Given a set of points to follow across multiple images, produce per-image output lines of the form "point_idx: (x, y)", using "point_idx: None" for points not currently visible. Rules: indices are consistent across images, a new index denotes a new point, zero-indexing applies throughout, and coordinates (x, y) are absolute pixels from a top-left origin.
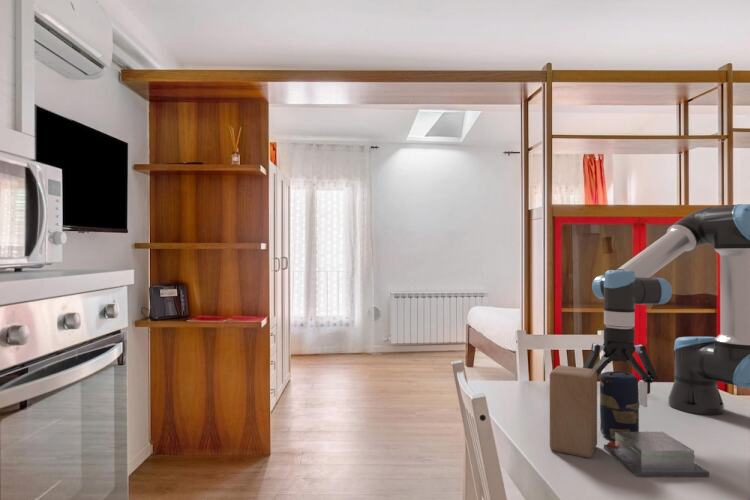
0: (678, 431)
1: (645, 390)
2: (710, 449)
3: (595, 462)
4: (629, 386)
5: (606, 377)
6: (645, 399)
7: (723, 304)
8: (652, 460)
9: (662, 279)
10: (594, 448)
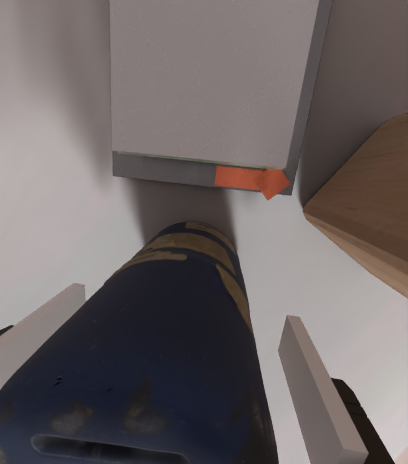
0: (26, 277)
1: (16, 333)
2: (8, 159)
3: (385, 95)
4: (128, 320)
5: None
6: (56, 302)
7: None
8: None
9: None
10: (348, 161)
